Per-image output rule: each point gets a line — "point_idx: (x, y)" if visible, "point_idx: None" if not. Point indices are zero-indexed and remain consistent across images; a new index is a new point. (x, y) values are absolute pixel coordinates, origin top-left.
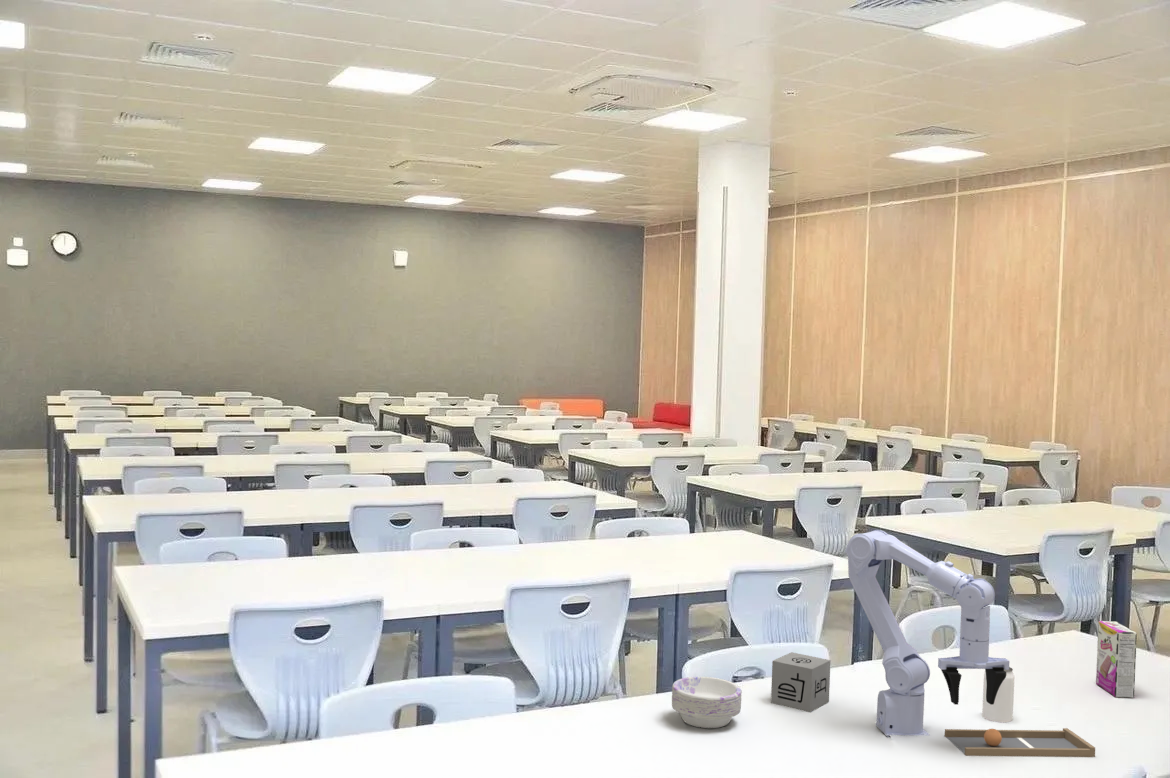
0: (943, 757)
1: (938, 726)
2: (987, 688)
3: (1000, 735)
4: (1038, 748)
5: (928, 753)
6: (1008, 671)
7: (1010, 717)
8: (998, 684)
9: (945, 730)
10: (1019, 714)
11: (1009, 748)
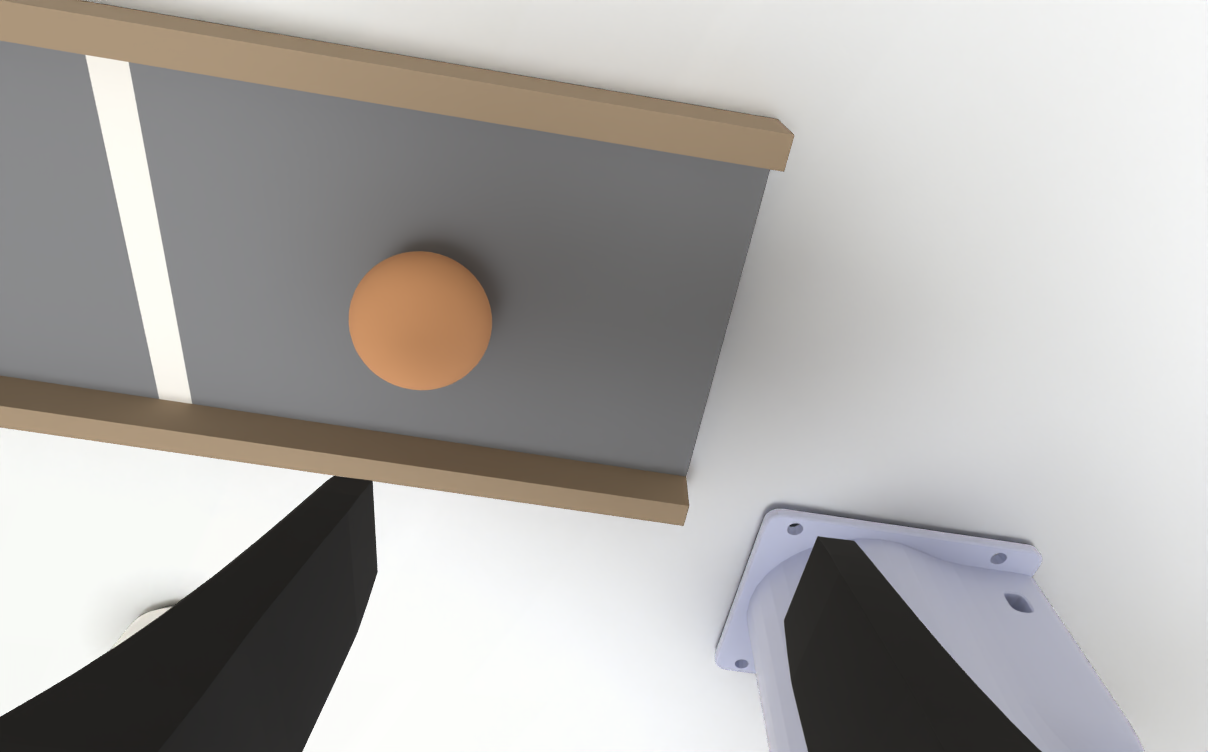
0: (946, 169)
1: (595, 630)
2: (300, 728)
3: (364, 289)
4: (90, 43)
5: (996, 264)
6: None
7: (131, 635)
8: (82, 708)
9: (685, 512)
10: None
11: (379, 81)
